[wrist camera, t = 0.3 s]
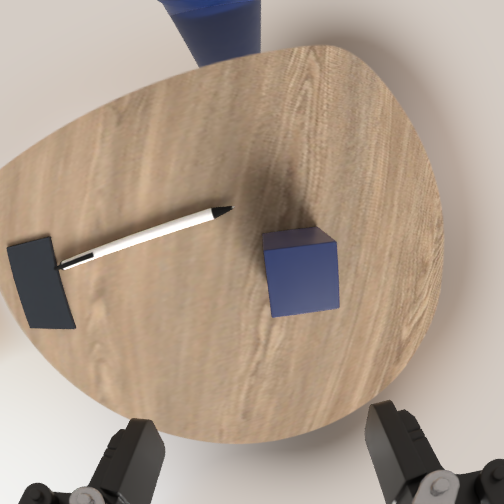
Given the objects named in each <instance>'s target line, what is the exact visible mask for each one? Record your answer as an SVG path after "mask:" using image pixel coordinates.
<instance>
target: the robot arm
mask: <svg viewBox="0 0 504 504" xmlns="http://www.w3.org/2000/svg"><path fill="white" fill-rule="evenodd" d="M365 441H366V444H367V447H368V450H369V453H370V456H371V459H372V462H373V465H374V468H375V471H376V474H377V477H378V480H379V483H380V486H381V489H382V492H383V495H384V498H385V501H386V504H504V459H496V460H493V461H491V462H489V463H488V464H487V465H486V466H485V467H484V468H483V470H481V471H476V472H471V473H466V474H454V473H452V472H451V471H447V470H445V469H444V468H443V467H442V466H441V465H440V463H439V461H438V459H437V457H436V455H435V453H434V451H433V449H432V447H431V445H430V444H429V442H428V440H427V438H426V437H425V434H424V433H423V431H422V429H420V425H419V424H418V422H417V420H416V418H415V417H414V416H413V415H411V414H410V413H409V412H408V411H406V410H405V409H404V410H401V411H397V410H396V408H395V406H394V404H393V402H392V401H391V400H387V401H383V402H379V403H376V404H371V405H370V407H369V412H368V417H367V422H366V427H365ZM107 447H108V448H107V449H106V450H105V452H104V456H103V457H102V458H101V460H100V462H99V464H98V466H97V468H96V471H95V473H94V475H93V477H92V479H91V481H90V483H89V485H88V486H87V487H80V488H78V489H76V490H74V491H73V492H72V493H60V492H52V491H51V490H50V489H49V488H48V487H47V486H46V485H44V484H42V483H33V484H31V485H29V486H28V487H27V488H26V490H25V492H24V494H23V495H22V497H21V499H20V501H19V503H18V504H150V503H151V500H152V497H153V493H154V490H155V487H156V483H157V480H158V477H159V473H160V470H161V467H162V463H163V460H164V457H165V446H164V443H163V441H162V439H161V437H160V435H159V433H158V431H157V429H156V427H155V425H154V423H153V421H152V420H147V419H137V418H132V419H131V420H130V421H129V423H128V425H127V427H126V429H120V430H119V431H118V432H117V433H116V434H115V435H114V436H113V437H112V438H111V440H110V442H109V444H108V446H107Z"/></svg>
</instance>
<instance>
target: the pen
mask: <svg viewBox="0 0 504 504" xmlns="http://www.w3.org/2000/svg"><path fill="white" fill-rule="evenodd" d="M233 208H235V207H234V206H233V207H232V206H226V207H216V208H209V209H206V210H203V211H200V212H197V213H194V214H191V215H188V216H185V217H182V218H178V219H175V220H172V221H170V222H167V223H164V224H161V225H158V226H155V227H152V228H149V229H146V230H143V231H141V232H138V233H135V234H132V235H129V236H127V237H124V238H121V239H118V240H116V241H113V242H110V243H108V244H105V245H102V246H100V247H97V248H94V249H92V250H89V251H87V252H84V253H81V254H79V255H76V256H74V257H71V258H69V259H66V260H64V261H61V262H60V265H58V266H56V267H54V270H55V271H56V270H59V269H62V270H66V269H69V268H71V267H74V266H77V265H79V264H82V263H85V262H87V261H90V260H93V259H96V258H98V257H101V256H104V255H107V254H110V253H112V252H115V251H118V250H121V249H124V248H127V247H130V246H132V245H135V244H138V243H141V242H144V241H147V240H150V239H153V238H156V237H159V236H162V235H165V234H168V233H171V232H174V231H178V230H181V229H184V228H187V227H190V226H193V225H196V224H200V223H203V222H206V221H209V220H213V219H215V218H217V217H219V216H221V215H223V214H224V213H226V212H228V211H230V210H232V209H233Z"/></svg>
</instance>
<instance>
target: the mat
mask: <svg viewBox="0 0 504 504" xmlns="http://www.w3.org/2000/svg"><path fill="white" fill-rule="evenodd" d="M7 253H8V257H9V261H10V265H11V269H12V273H13V277H14V281H15V284H16V287H17V291H18V294H19V297H20V300H21V303H22V306H23V309H24V312H25V315H26V318H27V321H28V323H29V326H30V328H44V329H75V328H76V326H75V323H74V320H73V317H72V314H71V311H70V308H69V305H68V302H67V299H66V295H65V292H64V289H63V285H62V282H61V278H60V274H59V271H58V270H56V271H55V270H54V267H56V266H57V263H56V259H55V254H54V250H53V246H52V241H51V237H46V238H42V239H38V240H34V241H30V242H26V243H22V244H18V245H15V246H11V247H7Z"/></svg>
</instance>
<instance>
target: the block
mask: <svg viewBox="0 0 504 504" xmlns="http://www.w3.org/2000/svg"><path fill="white" fill-rule="evenodd" d="M262 236H263V252H264V260H265V267H266V275H267V283H268V291H269V299H270V307H271V315H272V317H281V316H289V315H296V314H304V313H311V312H318V311H324V310H331V309H337V308H339V307H340V304H339V275H338V256H337V242H336V241H335V240H334V239H333V238H331V237H330V236H329V235H327V234H326V233H325V232H324V231H322V230H321V229H320V228H318V227H310V228H302V229H293V230H285V231H277V232H269V233H263V234H262Z"/></svg>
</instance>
